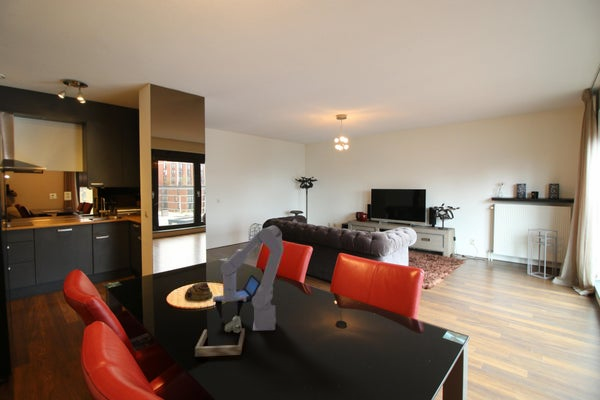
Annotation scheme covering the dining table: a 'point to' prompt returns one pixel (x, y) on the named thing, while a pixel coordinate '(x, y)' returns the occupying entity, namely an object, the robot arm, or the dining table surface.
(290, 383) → the dining table surface
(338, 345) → the dining table surface
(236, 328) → the pipe fitting
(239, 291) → the handheld game console
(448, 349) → the dining table surface
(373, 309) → the dining table surface
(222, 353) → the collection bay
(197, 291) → the brown swirled mound
